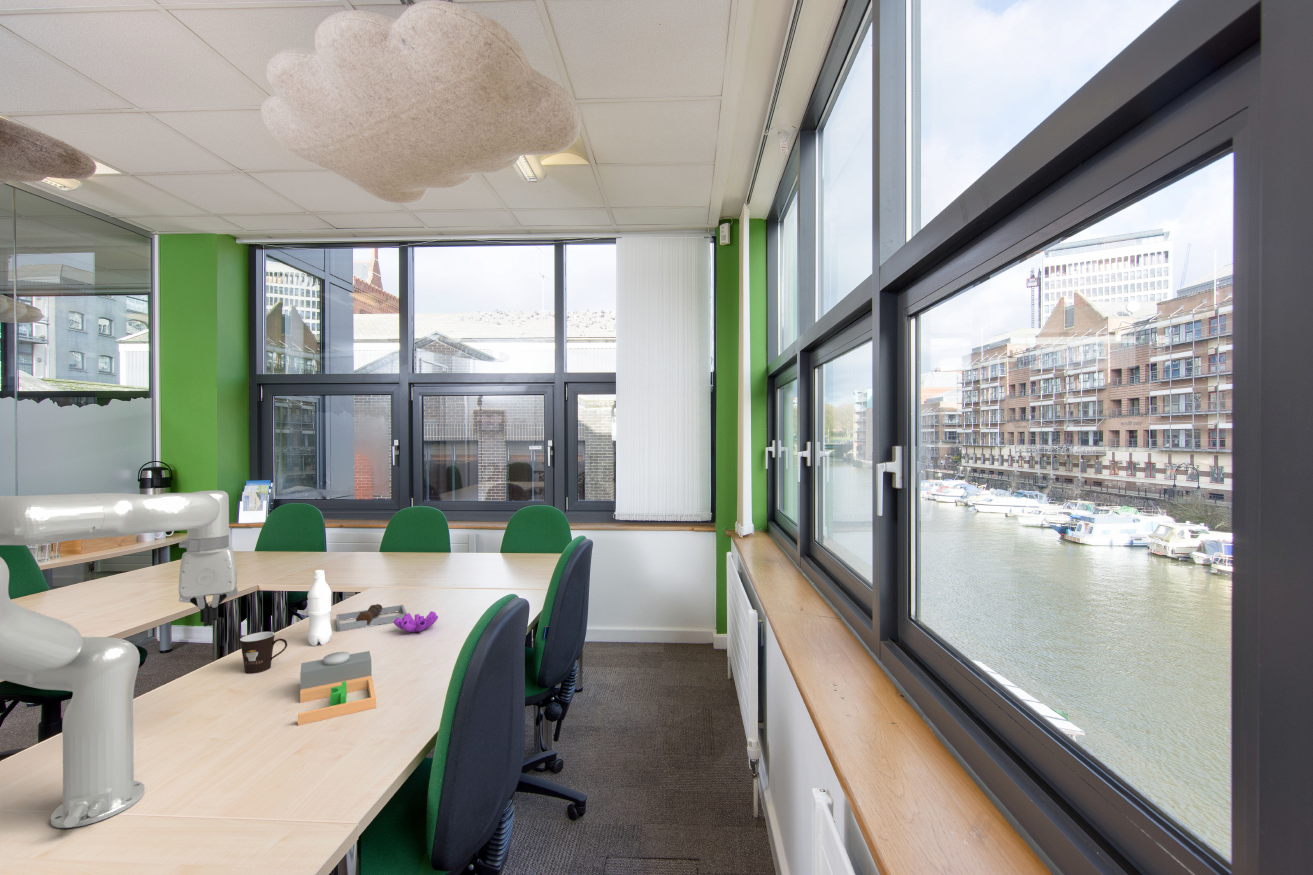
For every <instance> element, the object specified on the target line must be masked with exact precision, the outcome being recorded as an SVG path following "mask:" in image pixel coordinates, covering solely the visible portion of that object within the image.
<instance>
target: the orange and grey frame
mask: <svg viewBox="0 0 1313 875" xmlns="http://www.w3.org/2000/svg"><path fill="white" fill-rule="evenodd" d="M299 673H300V674H299V676H300V683H299V684H300V692H299V702H300V704H301V703H307V702H310V701H315V700H320V699H324V698H330V694H331V688H332V687H337V686H342V682H344V681H346V690H347V694H349V693H353V692H358V691H364V690H368V696H369V697H367V698H362V699H357V700H354V701H348V702H346V703H344V704H339V705H334V706H330V705H329V706H326V707H320V708H318V709H316V708H315V709H313V710H312V709H311V710H307V711H302V712H298V713H297V726H301V725H306V724H310V723H315V722H319V721H323V720H328V719H332V718H337V717H342V716H345V715H350V714H354V713H359V712H364V711H368V710H373V709H376V708H377V700H376V699H377V698H376V697H377V696H376V691H375V687H374V686H375V685H374V683H373V676H372V657H371V652H370V650H367V651H361V652H357V653H356V652H355V653H350V652H348V651H338V652H337V651H336V652H332V653H330V654H329V653H328V654H326V655H325V656H324V657H323V658H322V659H317V660H312V661H311V660H310V661H304V662H301V665H300V672H299Z"/></svg>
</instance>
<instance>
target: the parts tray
mask: <svg viewBox="0 0 1313 875" xmlns="http://www.w3.org/2000/svg"><path fill="white" fill-rule="evenodd" d="M366 611H368V609H366V610H365V609H364V610H359V611H351V612H345V613H337V614H335V615H336V632H337V631H339V632H344V631H343V630H345V631H349V630H348V629H351V630H356V629H355V628H357V629H362V628H361V627H364V628H367V627H366V626H370V627H372V626H371V625H376V626H378V625H377V624H382V625H384V624H383V623H389V622H394V620H395V619H397V618H400V619H402V618H403V617H404V615H406V614H408V613H407V610H406V608H405V606H404V605H403V604H400V605H393V606H386V607H382V611H381V612H380V614H382V613H389V612H396V611H401V612H402V613H401V612H400V614H395V615H390V616H389V615H387V616H382V617H374V618H373V619H372V621H371V622H370V624H369V625H367V620H363V621H356V620H355V621H350V622H344V623H340V622H341V621H340V620H344V621H347V620H346V619H350V618H357V617H358V615H359V613H360V612H366ZM350 620H351V619H350ZM389 624H390V623H389Z"/></svg>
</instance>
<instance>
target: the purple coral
mask: <svg viewBox="0 0 1313 875" xmlns="http://www.w3.org/2000/svg"><path fill="white" fill-rule="evenodd" d="M438 619H439V615H437V613H436V612H435V611H429V613H428V614H427V616H424V615H420V614H419V613H417V614H414V618H413V616H412V615H411V613H407V614H406V615H404V617H403V618H402V619H400V618H397V619H395V620H394V622H393V623H392V624H394V625H395V626H396V627H397V628H398V629H400V630H403V631H406V632H408V633H409V632H410V633H420V632H422V631H424V630H427V629H428V628H431V626H433V625H434V624H435V623H436V622H437V621H438Z"/></svg>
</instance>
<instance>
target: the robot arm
mask: <svg viewBox="0 0 1313 875" xmlns="http://www.w3.org/2000/svg"><path fill="white" fill-rule="evenodd" d="M229 502H230V501H229V494H228V493H227V492H226V491H224V490H199V491H193V492H164V493H159V494H147V493H146V494H145V493H144V494H140V493H125V492H97V493H95V492H94V493H93V492H92V493H71V494H70V493H69V494H68V493H65V494H36V495H35V494H32V495H30V494H29V495H0V546H32V545H42V544H51V543H53V544H54V543H62V542H69V541H70V542H71V541H79V540H90V539H93V540H94V539H100V538H101V539H103V538H112V537H114V538H115V537H116V538H117V537H126V536H135V535H140V534H141V535H143V534H150V533H151V534H152V533H165V532H176V531H186V530H187V534H186V535H187V538H186V540H183V541H179V543H178V547H179V548H180V549H181V548H184V549H186V551H185V552H183V553H182V555H181V560H180V566H179V578H178V595H179V597H178V602H179V603H187V604H190V603H191V604H192V605H194V606H195V607H197V608H198V609H199V610H200V614H199V616H200V617H199V619H200V620H199V622H200V623H203V627H208V626H210V627H211V626H213V625H214V624H215V622H216V621H218V619H219V605H220V604H221V603H222V602H224V600H226V599H229V598H231V597H235V596H237V595H238V593H239V590H238V584H237V582H238V581H237V580H238V576H237V574H238V572H237V564H236V556H235V552H234V549H233V548H232V547H230V503H229ZM9 584H10V569H9V567H8V564H7V563H6V561H5V559H3V558H2V557H1V556H0V680H2V681H7V682H10V683H13V684H17V685H22V686H26V687H30V688H35V689H40V690H46V691H47V690H48V691H49V690H50V691H51V690H52V691H67V692H72V697H71V699H70V701H69V703H68V705H67V707H66V709H65V711H64V714H63V717H62V725H61V726H62V727H61V728H62V729H61V730H62V731H61V732H62V803H61V804H60V805H58V807H57V808H55V809H54V810H53V812H52V813H51V815H50V824H51V826H53V827H55V828H58V829H71V828H78V827H83V826H87V825H91V824H95V823H97V822H100V821H103V820H106V819H109V818H110V817H111V818H112V817H113V816H115V815H117V814H120V813H121V812H123V811H125V810H127V809H128V808H131V807H132V806H133V805H135V803H137V802H138V801H139V800H141V799H142V797H143V796H144V794H145V784H144V783H143V782H141V781H138V780H134V779H135V778H134V777H135V776H134V775H135V774H134V773H135V772H134V771H135V770H134V769H135V766H134V764H135V762H134V760H135V759H134V758H135V756H134V694H135V692H134V691H135V685H136V679H137V674H138V671H139V666H140V661H141V658H140V656H141V654H140V652H139V649H138V647H137V646H136V645H134V643H132V642H130V641H129V640H126V639H123V638H119V637H109V636H108V637H106V636H82V634H81V633H80V631H79V630H78V628H76V627H75V626H73V625H72V624H71V623H68V622H66V621H63V620H61V619H58V618H55V617H51V616H48V615H46V614H43V613H40V612H38V611H35V610H32V609H28V608H26V607H24V606H22V605H20V604H17V603H16V602H14V601H13V600H12V599H11V597H10V595H9V594H10V593H9V586H10V585H9ZM209 596H212V600H211V603H210V605H209V603H208V600H207V597H209Z"/></svg>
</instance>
